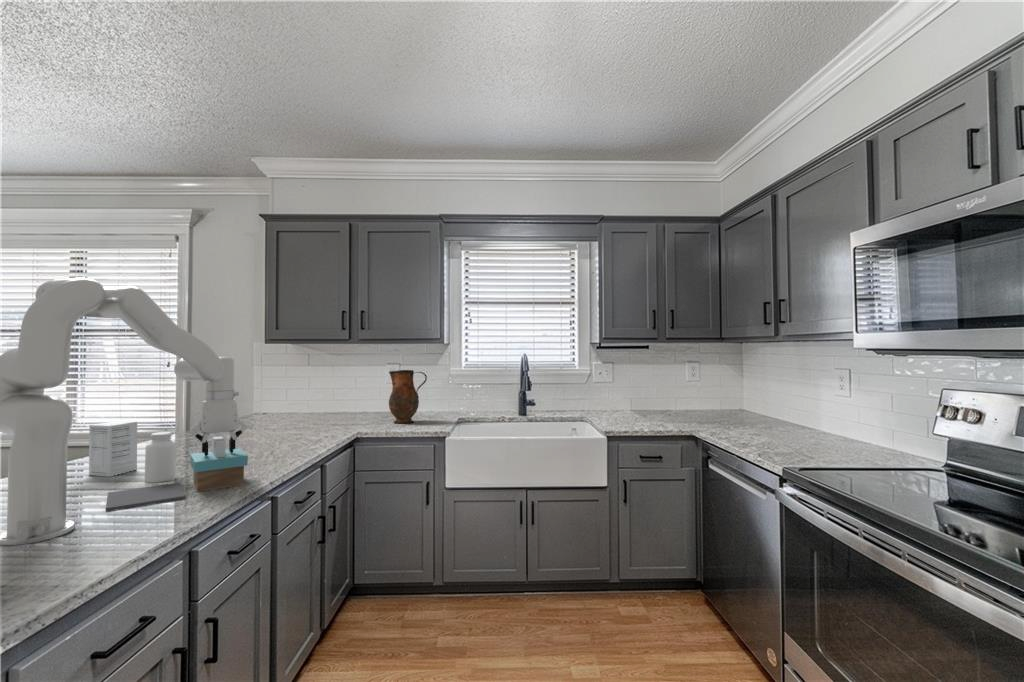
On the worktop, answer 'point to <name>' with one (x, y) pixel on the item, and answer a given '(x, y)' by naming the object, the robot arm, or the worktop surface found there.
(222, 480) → the crate
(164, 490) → the mat
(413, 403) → the pitcher
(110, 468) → the supplement box
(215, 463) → the lid
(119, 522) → the worktop surface
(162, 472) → the pill bottle
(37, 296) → the robot arm
